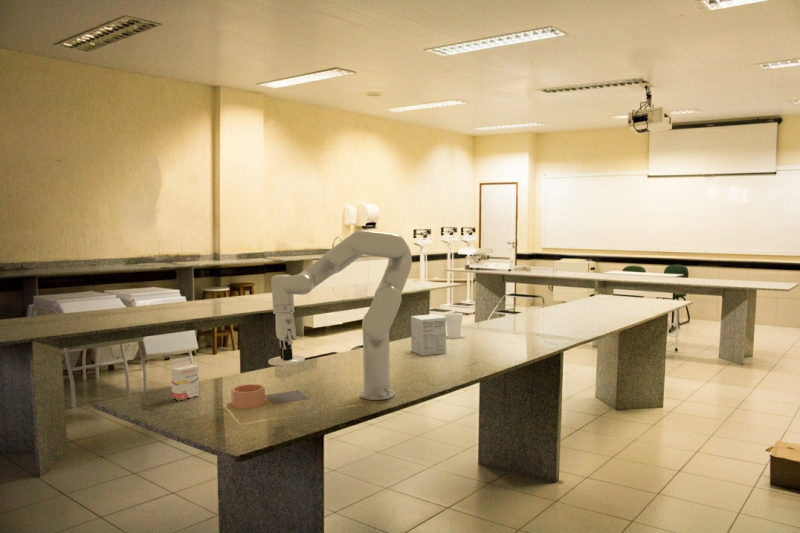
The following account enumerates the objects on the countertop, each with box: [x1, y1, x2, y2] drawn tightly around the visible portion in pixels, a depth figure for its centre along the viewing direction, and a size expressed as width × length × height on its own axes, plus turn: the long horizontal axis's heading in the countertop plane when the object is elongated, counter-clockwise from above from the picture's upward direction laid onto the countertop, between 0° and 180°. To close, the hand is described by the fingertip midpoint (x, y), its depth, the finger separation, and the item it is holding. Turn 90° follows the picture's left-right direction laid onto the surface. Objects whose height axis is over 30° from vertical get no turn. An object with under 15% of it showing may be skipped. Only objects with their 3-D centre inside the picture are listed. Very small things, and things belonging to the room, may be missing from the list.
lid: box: [267, 347, 306, 367], centre depth 225 cm, size 13×13×5 cm
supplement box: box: [410, 313, 447, 356], centre depth 301 cm, size 13×13×18 cm
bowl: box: [230, 383, 266, 409], centre depth 219 cm, size 11×11×6 cm
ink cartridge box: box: [170, 356, 200, 399], centre depth 229 cm, size 9×5×15 cm, turn 141°
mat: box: [265, 390, 310, 405], centre depth 226 cm, size 13×13×1 cm
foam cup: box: [444, 312, 463, 340], centre depth 339 cm, size 10×9×13 cm
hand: (286, 358), depth 225 cm, fingers closed on lid, 2 cm apart
